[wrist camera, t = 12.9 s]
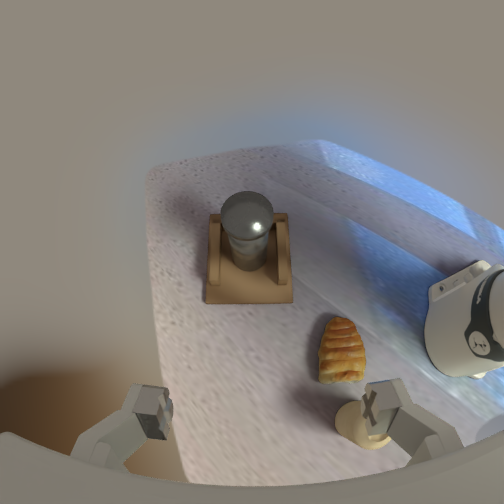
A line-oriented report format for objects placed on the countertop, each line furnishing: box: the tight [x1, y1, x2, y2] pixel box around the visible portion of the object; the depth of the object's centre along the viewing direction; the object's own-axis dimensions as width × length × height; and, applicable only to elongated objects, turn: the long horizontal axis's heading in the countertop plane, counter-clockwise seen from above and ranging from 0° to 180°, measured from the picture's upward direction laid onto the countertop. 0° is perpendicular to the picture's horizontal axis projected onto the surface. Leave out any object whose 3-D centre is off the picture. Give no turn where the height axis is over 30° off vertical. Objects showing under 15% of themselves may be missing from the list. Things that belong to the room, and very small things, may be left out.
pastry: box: [318, 317, 366, 384], centre depth 38 cm, size 9×7×4 cm
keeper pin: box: [221, 191, 274, 272], centre depth 39 cm, size 6×6×12 cm
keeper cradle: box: [206, 213, 293, 304], centre depth 44 cm, size 14×12×3 cm
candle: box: [335, 401, 391, 450], centre depth 31 cm, size 6×6×10 cm
